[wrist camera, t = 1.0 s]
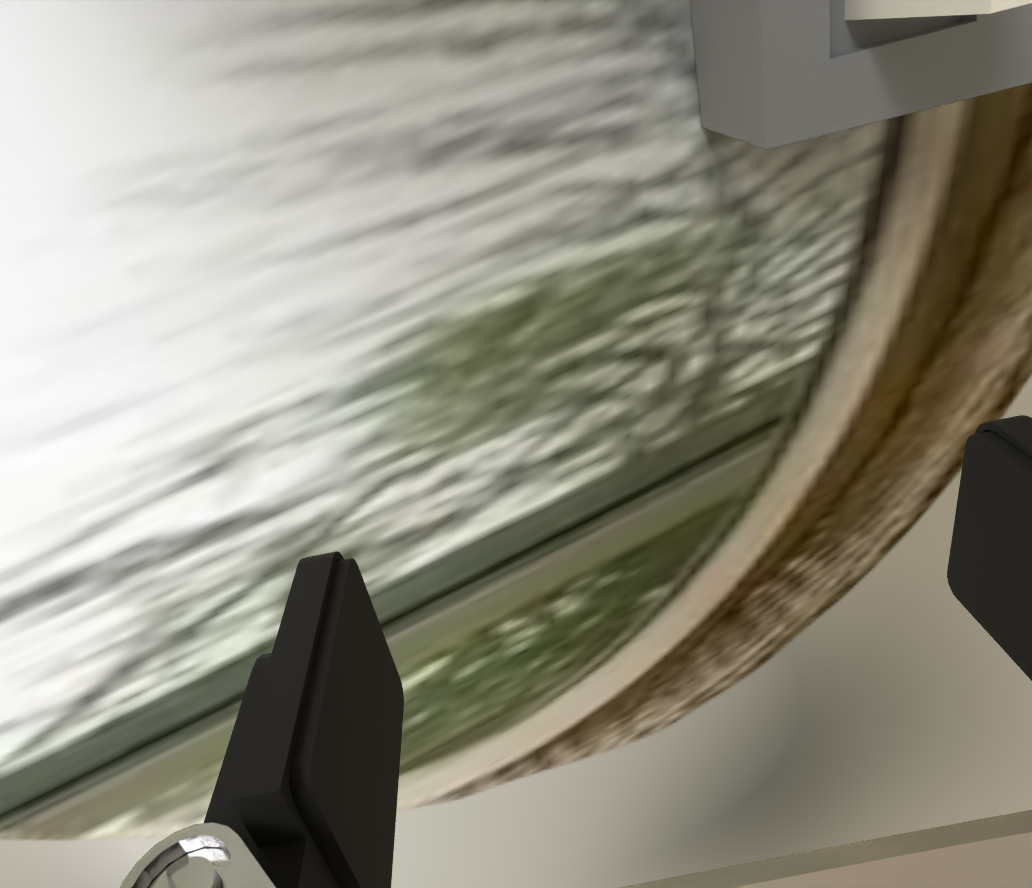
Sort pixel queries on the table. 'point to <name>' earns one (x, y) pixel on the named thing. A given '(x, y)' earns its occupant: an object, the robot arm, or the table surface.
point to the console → (843, 65)
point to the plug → (924, 8)
